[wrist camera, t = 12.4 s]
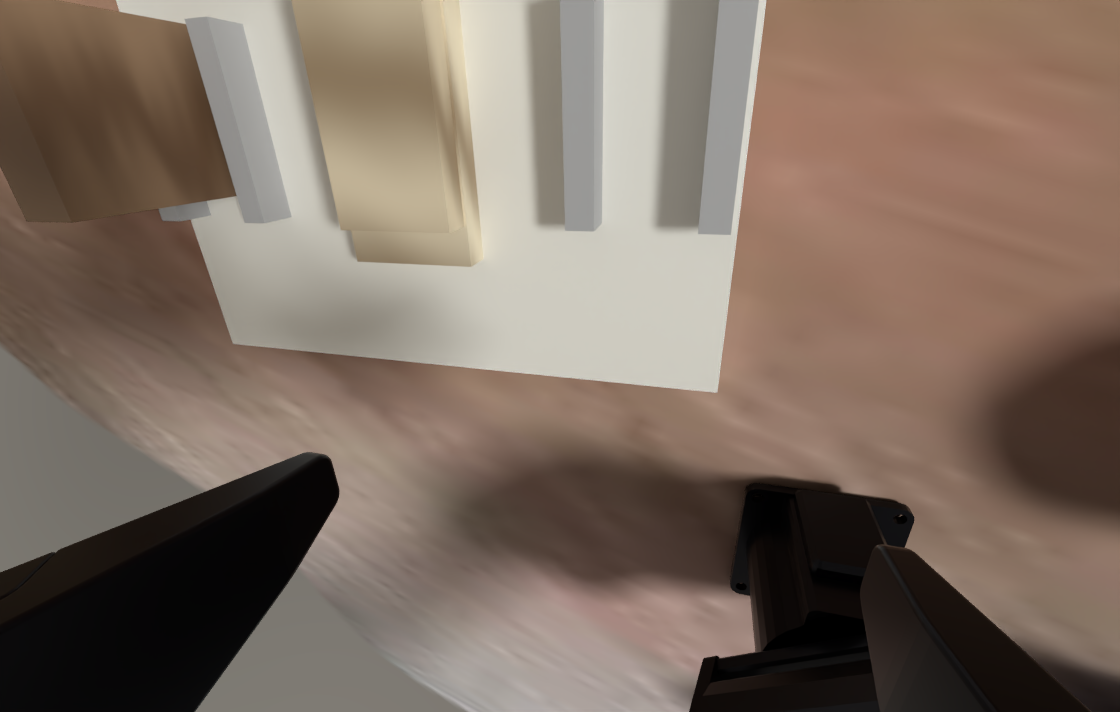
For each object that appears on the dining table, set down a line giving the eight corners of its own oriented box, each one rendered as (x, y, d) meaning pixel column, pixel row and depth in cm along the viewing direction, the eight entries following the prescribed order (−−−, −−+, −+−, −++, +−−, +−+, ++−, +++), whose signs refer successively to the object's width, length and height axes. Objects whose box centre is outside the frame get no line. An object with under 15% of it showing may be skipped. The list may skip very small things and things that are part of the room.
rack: (716, 381, 20) (717, 412, 18) (248, 336, 26) (207, 356, 24) (807, -352, 12) (830, -458, 10) (83, -174, 18) (-3, -215, 16)
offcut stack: (483, 259, 20) (457, 275, 18) (374, 254, 21) (338, 269, 19) (454, -56, 15) (413, -84, 13) (319, -38, 17) (263, -61, 15)
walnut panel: (254, 193, 21) (71, 222, 15) (217, 193, 22) (26, 221, 16) (208, 28, 19) (-35, -17, 13) (167, 32, 19) (-85, -10, 13)
